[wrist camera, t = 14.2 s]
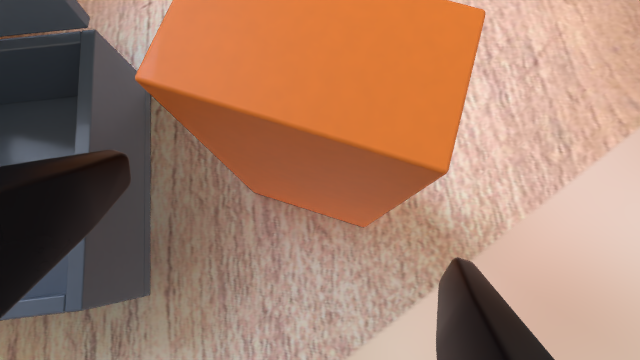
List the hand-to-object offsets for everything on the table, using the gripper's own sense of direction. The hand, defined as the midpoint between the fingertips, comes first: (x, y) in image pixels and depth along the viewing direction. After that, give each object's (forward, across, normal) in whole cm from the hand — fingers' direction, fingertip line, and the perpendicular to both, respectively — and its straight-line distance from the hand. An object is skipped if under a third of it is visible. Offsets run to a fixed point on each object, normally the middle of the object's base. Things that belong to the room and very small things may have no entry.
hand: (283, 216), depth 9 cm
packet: (+8, 0, +3) cm, 8 cm away
